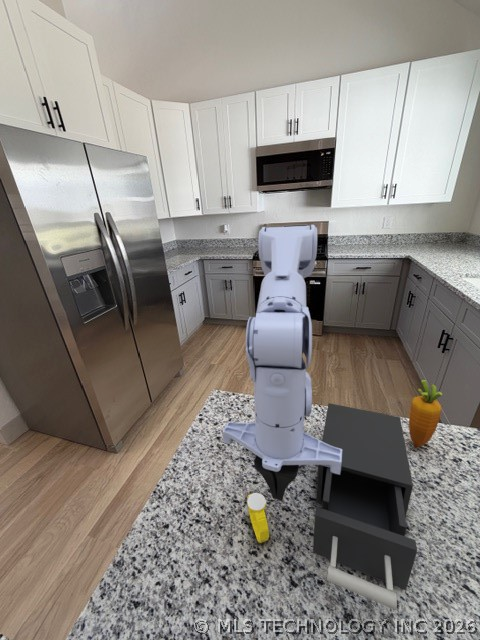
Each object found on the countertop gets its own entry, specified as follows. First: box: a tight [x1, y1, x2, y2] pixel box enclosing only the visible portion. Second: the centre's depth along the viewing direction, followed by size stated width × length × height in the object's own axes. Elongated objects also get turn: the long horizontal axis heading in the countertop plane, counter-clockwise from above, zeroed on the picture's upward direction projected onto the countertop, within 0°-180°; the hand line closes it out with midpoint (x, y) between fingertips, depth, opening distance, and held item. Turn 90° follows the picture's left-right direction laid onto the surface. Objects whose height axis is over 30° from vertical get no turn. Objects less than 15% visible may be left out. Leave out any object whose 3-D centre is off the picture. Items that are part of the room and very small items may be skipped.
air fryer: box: [315, 402, 414, 518], centre depth 48 cm, size 15×13×10 cm
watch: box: [246, 492, 270, 544], centre depth 41 cm, size 6×3×6 cm, turn 16°
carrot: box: [408, 379, 443, 449], centre depth 53 cm, size 5×5×15 cm
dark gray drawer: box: [311, 467, 418, 611], centre depth 38 cm, size 18×11×8 cm, turn 158°
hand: (279, 492), depth 37 cm, fingers closed
